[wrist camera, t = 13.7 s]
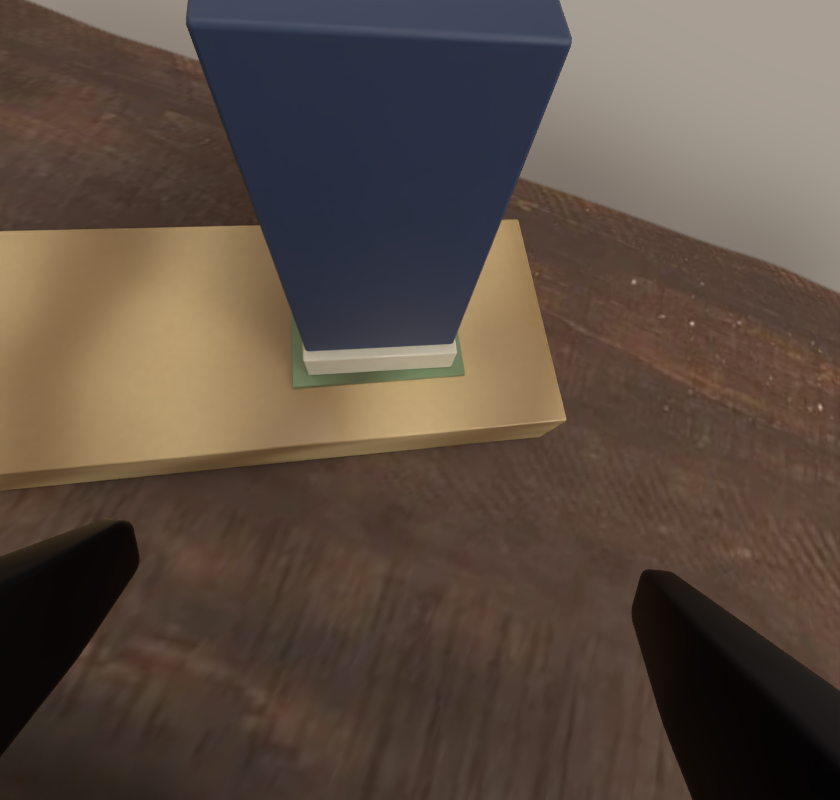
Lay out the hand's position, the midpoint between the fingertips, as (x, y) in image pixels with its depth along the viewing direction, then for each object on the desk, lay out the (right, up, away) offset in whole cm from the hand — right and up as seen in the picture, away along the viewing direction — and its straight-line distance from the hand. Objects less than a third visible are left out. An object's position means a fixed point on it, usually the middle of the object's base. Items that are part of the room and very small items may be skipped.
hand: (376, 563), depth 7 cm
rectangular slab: (-5, +5, +10) cm, 12 cm away
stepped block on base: (-1, +8, +9) cm, 12 cm away
